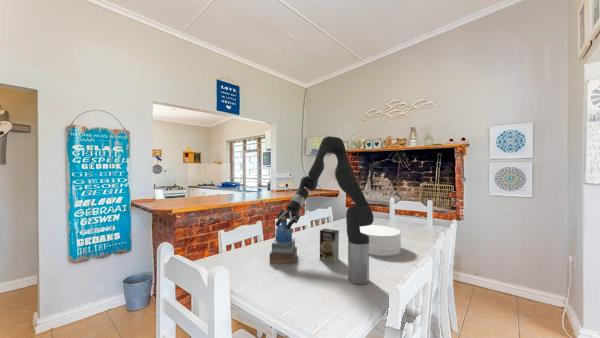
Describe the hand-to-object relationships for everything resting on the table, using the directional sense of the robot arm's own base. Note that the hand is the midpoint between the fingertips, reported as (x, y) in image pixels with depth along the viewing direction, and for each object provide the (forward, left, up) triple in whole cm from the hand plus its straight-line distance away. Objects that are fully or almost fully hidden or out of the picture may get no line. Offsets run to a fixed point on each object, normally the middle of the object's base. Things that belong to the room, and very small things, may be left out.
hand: (282, 226), depth 138 cm
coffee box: (+3, -26, -18) cm, 32 cm away
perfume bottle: (+1, -1, -8) cm, 8 cm away
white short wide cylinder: (+27, -56, -18) cm, 65 cm away
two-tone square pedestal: (+1, -1, -18) cm, 18 cm away
